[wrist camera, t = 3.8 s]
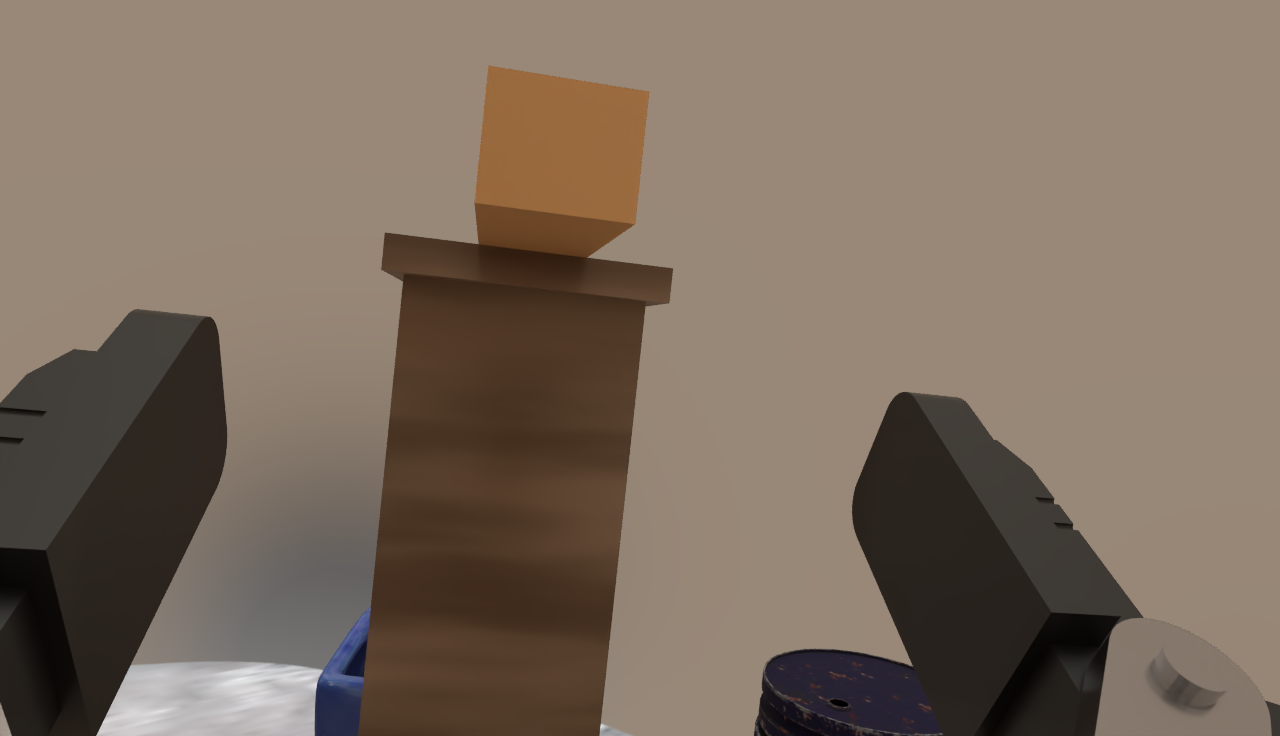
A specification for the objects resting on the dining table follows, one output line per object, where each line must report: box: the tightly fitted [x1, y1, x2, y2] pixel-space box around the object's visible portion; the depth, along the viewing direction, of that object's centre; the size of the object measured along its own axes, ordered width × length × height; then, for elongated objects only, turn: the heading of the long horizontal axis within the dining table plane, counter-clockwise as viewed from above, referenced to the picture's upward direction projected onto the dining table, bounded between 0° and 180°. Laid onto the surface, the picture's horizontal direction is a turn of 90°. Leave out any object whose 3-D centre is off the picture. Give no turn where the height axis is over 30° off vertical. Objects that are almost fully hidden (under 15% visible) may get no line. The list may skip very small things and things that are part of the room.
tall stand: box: [358, 233, 673, 736], centre depth 30 cm, size 12×10×32 cm
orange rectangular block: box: [475, 66, 649, 258], centre depth 27 cm, size 22×3×2 cm, turn 10°
